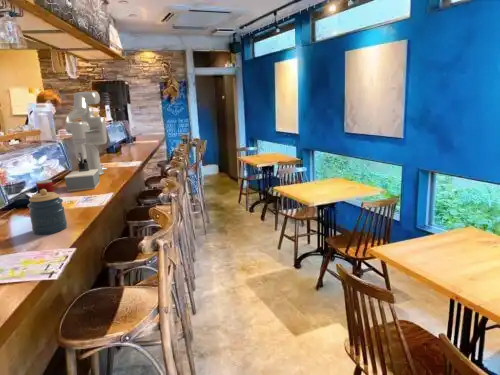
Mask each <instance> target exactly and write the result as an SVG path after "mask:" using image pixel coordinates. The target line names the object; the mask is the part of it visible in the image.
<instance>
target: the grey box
mask: <svg viewBox="0 0 500 375" xmlns="http://www.w3.org/2000/svg"><path fill="white" fill-rule="evenodd" d="M64 180H65V181H64V182H65V186H66V191H67V192H76V191H87V190H95V189H96V188H97V187H98V186H99V184H100V183H101V182H100V175H99V173H98V171H97V172H96V173H95V174H94V175H93V176H86V177H76V178H65V177H64Z"/></svg>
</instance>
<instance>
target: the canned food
mask: <svg viewBox="0 0 500 375" xmlns="http://www.w3.org/2000/svg"><path fill="white" fill-rule="evenodd" d="M35 184H36V190H37V194H40V190H42V189H45V190H47V192H55V188H54V185H53V184H54V183H53V180H52V179H42V180H38V181H36V182H35Z"/></svg>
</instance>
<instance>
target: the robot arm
mask: <svg viewBox="0 0 500 375" xmlns="http://www.w3.org/2000/svg"><path fill="white" fill-rule="evenodd" d="M100 102H101V97H100V93H99V92H97V91H79V92H76V93H73V109H72V110H70V112H69V113H68V114H67V115H66V117H65V123H64V124H65V126H64V129H65V131H66V133H68V134H71V138H72V143H73V145H74V151H75V159H76V161H78V163H77V164H79V168H78V170H79V169H85V165H84V163H89V170H93V169H98V173H99V176H101V175H104V174H105V172H104V171H107V170H108V168H107V167H106V166H105V167H102V166H101V159H100V152H99V149H98V148H97V147H96V145H97V146H98V145H99V146H100V145H106V144H107V141H108V136H107V126H106V125H107V124H106V120H105V119H104V117H102V116H95V115H94V110H93V109H92V108H91V107H90V105H97V104H99V103H100ZM79 118H81V119H80V121H76V120H77V119H79Z"/></svg>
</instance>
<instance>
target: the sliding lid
mask: <svg viewBox="0 0 500 375" xmlns="http://www.w3.org/2000/svg"><path fill="white" fill-rule="evenodd" d="M84 165H85V169H79V163H77V167H78V170H73V171H71V172H69V173H68V174H67V175H65V176H64V179H65V178H76V177H86V176H93V175H94V174H95V173H96V172H97V171H98V169H93V170H89V163H84Z"/></svg>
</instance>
